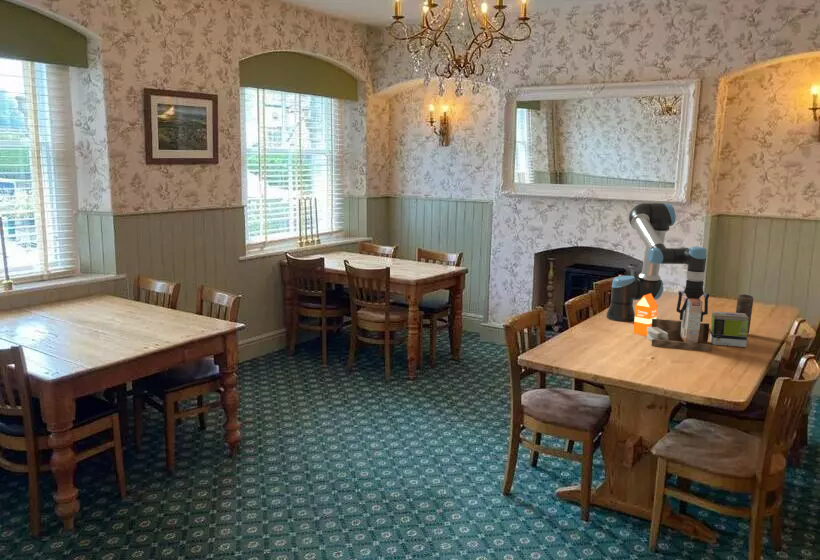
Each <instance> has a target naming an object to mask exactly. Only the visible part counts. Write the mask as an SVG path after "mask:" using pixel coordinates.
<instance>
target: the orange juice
mask: <svg viewBox="0 0 820 560" xmlns="http://www.w3.org/2000/svg"><path fill="white" fill-rule="evenodd" d="M634 313H635V319H634V320H633V334H635V333H638V334H637V335H641V334H642V335H641V336H646V335H648V331H647V327H652V319H657V316H658V315H657V313H658V304H657V302H656V300H654V298H653V296H652V294H651V293H650V294H647V295H644V296H643V297H642V298H641V300H638V301H637V303H636V304H635V309H634Z"/></svg>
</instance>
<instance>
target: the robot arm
mask: <svg viewBox="0 0 820 560" xmlns="http://www.w3.org/2000/svg"><path fill="white" fill-rule="evenodd" d="M676 217H677V216H676V210H675V208H674V206H673V205H672V204H670V203H663V202H659V203H656V202H655V203H654V202H653V203H651V202H650V203H647V202H642V203H638V204H637V205H635V206H634V207H632V209H631V211H629V214H628V221H629V224H630V226H631V228H633V230H636V232H637V233H638V236H639V237H640V239H641V241H642V242H643V243H644V246H645V251H644V256H643V264H642V267H641V268H642V270H641V272H640V273H639V274H638V275H637V278H635V276H634V275H620V276H615V277H614V278H613V279H612V284H611V294H610V295H611V296H610V305H609V307H608V309H607V312H606V318H607V319H608V318H609V319H608V320H611V319H612V321H616V320H618V321H617V322H631V321H632V320H633V321H634V319H635V309H634V306H633V305H634V301H640V300H641V298H642V297H643V296H644V295H647V294H650V293H651V294H652V296H653V298H654V300H655V301H656V300H658V299H659V298H661V296H662V295H663V293H664V282H663V280H662V279H661V276H660V275H659V271H660V266H661V265H670V264H671V265H687V271H686V281H685V288H684V290H678V291H677V292H678V299H677V304H676V312H677V313H679V321H682V325H681V327H682V328H683V327H684V317H685V313H684V310H685V308H686V305H687V300H688V299H690V298H694V299H700V298H701V297H702V296H703V298H704V308H703V310H704V311H703V310H702V312H701V321H700V323H703V321H704V319H703V318H704V316H706V315H708V312H709V311H708V310H709V298H710V294H709V293H707V292H705V291H704V283H705V282H704V280H705V272H706V264H707V256H708V255H707V248H705V247H704V246H703V247H702V246H691V247H690V248H689V247H684V246H683V247H680V248H679V247H677V248H676V247H675V248H674V247H673V248H672V247H671V248H670V247H666V245H665V244H664V243H665V237H666V233H667V232H668V231H670V227H672V226H674V225H675V223H676ZM684 295H686V296H687V297H688V298H686V300H685V302H684V301H683V303H684V304H682V300H683V297H684ZM681 304H682V306H681ZM680 308H681V309H680ZM633 321H632V322H633Z"/></svg>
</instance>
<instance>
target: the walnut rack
mask: <svg viewBox="0 0 820 560" xmlns="http://www.w3.org/2000/svg"><path fill="white" fill-rule="evenodd" d="M681 323H682V320H672V319H671V320H670V319H662V318H659V319H658V318H656V319H652V327H658V328H660V329H661V330H663V331H665V332H667V333H668V337H669V339H668V340H659V339H652V341H651V346H652V347H659V346H660V347H661V348H669V347H670V348H671V349H679V348H682V349H681V350H689V349H692V350H691V351H700V350H701V352H710V351H711V352H712V348H713V344H712V343H711V344H708V341H709V335H710V334H709V331H710V323H709V322H708V323H706V322H700V329H699V338H698V343H690V342H684V341H683V339H682V338H681V337H680V332H681ZM679 340H681V341H679ZM700 342H701V343H700Z"/></svg>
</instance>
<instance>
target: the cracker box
mask: <svg viewBox="0 0 820 560" xmlns="http://www.w3.org/2000/svg"><path fill="white" fill-rule="evenodd" d="M686 298H688V297H687V296H686V294H683V304H684V302H685V300H686ZM703 303H704V302H703V300H701V299H700V298H699V299H694V298H690V299H688V300H687V305H686V308H685V310H684V313H685V317H684V327H683V328H682V327H681V332H680V337H681V338H682V339H683V340H682V342H690V343H699V341H698V338H699V329H700V323H701V322H700V321H701V312H702V311H703ZM683 304H682V305H683ZM681 325H682V323H681Z"/></svg>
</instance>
